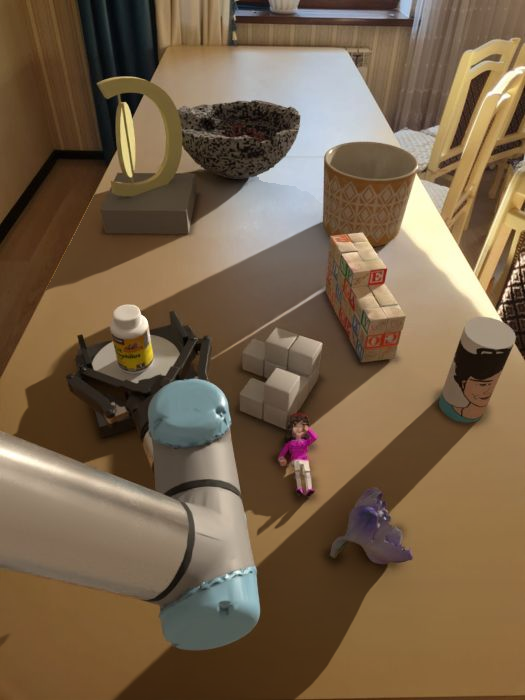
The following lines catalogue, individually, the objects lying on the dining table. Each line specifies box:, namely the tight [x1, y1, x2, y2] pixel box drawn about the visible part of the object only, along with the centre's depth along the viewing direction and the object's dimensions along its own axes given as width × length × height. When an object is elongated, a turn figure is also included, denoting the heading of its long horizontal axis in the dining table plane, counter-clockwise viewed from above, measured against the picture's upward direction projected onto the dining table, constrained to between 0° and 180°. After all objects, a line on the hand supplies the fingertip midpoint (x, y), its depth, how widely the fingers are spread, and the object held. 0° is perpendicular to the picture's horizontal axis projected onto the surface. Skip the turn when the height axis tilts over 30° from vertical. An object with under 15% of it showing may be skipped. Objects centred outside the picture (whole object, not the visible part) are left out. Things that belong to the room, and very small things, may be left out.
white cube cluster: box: [239, 327, 323, 430], centre depth 83 cm, size 12×12×8 cm
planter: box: [322, 141, 419, 248], centre depth 117 cm, size 19×19×16 cm
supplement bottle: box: [109, 303, 153, 373], centre depth 82 cm, size 6×6×10 cm
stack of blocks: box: [325, 233, 407, 363], centre depth 94 cm, size 21×6×12 cm, turn 12°
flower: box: [329, 486, 414, 565], centre depth 64 cm, size 9×9×10 cm
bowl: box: [177, 99, 301, 180], centre depth 140 cm, size 31×31×15 cm
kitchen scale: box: [76, 323, 197, 439], centre depth 86 cm, size 16×18×3 cm
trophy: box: [96, 76, 197, 235], centre depth 117 cm, size 19×19×30 cm
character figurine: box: [277, 412, 319, 498], centre depth 74 cm, size 6×5×12 cm
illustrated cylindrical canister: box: [438, 316, 517, 424], centre depth 79 cm, size 7×7×15 cm
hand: (128, 329), depth 80 cm, fingers open, 13 cm apart
